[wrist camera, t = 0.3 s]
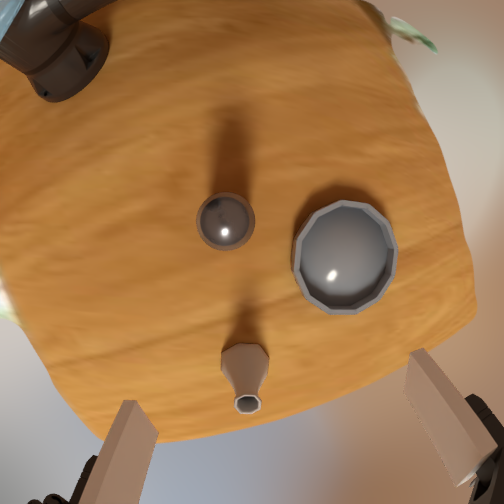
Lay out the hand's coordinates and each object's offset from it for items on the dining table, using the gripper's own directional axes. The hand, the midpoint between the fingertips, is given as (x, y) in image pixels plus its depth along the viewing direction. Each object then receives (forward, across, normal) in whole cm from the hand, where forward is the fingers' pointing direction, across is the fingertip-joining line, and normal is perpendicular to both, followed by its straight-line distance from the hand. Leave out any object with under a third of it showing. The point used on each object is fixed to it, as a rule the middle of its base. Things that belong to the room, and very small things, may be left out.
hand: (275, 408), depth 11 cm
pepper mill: (+26, -3, +4) cm, 27 cm away
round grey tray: (+26, +11, -3) cm, 29 cm away
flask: (+23, -5, -15) cm, 28 cm away
